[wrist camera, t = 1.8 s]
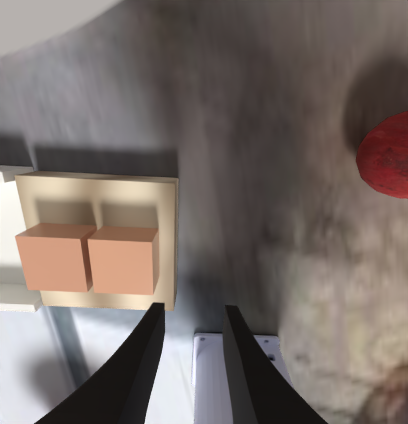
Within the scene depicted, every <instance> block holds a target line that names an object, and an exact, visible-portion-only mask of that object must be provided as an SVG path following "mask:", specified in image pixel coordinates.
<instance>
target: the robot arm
mask: <svg viewBox="0 0 408 424" xmlns="http://www.w3.org/2000/svg"><path fill="white" fill-rule="evenodd" d="M164 335H165V303H160V302H153V303H152V304H151V306H150V307H149V309H148V310H147V312H146V314H145V315H144V316H143V318H142V319H141V321H140V322H139V323H138V325H137V326H136V327H135V329H134V330H133V331H132V333H131V334H130V335H129V337H128V338H127V339H126V340H125V341H124V342H123V344H122V345H121V346H120V347H119V348H118V350H117V351H116V352H115V353H114V354H113V355H112V356H111V357H110V358H109V359H108V360H107V361H106V363H105V364H104V365H103V366H102V367H101V368H100V369H99V370H98V371H97V372H95V373H94V374H93V375H92V376H91V377H90V378H89V379H88V380H87V381H86V382H85V383H84V384H83V385H82V386H80V387H79V388H78V389H77V390H76V391H75V392H73V393H72V394H71V395H70V396H69V397H67V398H66V399H65V400H64V401H63V402H61V403H60V404H59V405H58V406H57V407H55V408H54V409H53V410H52V411H50V412H49V413H48V414H46V415H45V416H44V417H42V418H41V419H40V420H38V421H37V422H36V423H34V424H144V423H145V417H146V412H147V408H148V403H149V399H150V395H151V391H152V388H153V384H154V380H155V376H156V372H157V369H158V365H159V361H160V357H161V353H162V348H163V341H164ZM279 342H280V341H279V338H278V337H277V336H262V335H253V334H252V332H251V331H250V329H249V327H248V326H247V324H246V322H245V320H244V318H243V316H242V314H241V312H240V310H239V308H238V307H237V306H231V305H225V313H224V323H223V333H222V334H212V333H196V334H195V335H194V344H193V364H192V385H193V386H195V408H194V424H328V423H327V422H326V421H325V420H324V419H323V418H321V417H320V416H319V415H318V414H317V413H316V412H315V411H314V410H313V409H312V408H311V407H310V406H309V405H308V404H307V402H306V401H305V400H304V399H303V398H302V397H301V396H300V395H299V394H298V393H297V392H296V391H295V390H294V387H293V384H292V382H291V379H290V376H289V373H288V371H287V368H286V365H285V362H284V360H283V357H282V354H281V351H280V349H279Z"/></svg>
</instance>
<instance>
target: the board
mask: <svg viewBox="0 0 408 424" xmlns="http://www.w3.org/2000/svg"><path fill="white" fill-rule="evenodd" d="M14 177H15V181H16V186H17V190H18V195H19V199H20V203H21V208H22V212H23V217H24V221H25V226H26V230H27V229H29V228H31V227H33V226H35V225H37V224H39V223H54V224H75V225H96V226H97V231H98V230H99V229H100V228H101V227H102V226H117V227H137V228H158V229H159V267H160V276H159V279H158V283H157V286H156V289H155V292H154V295H134V294H110V293H94V287H93V286H92V287H91V289H90V290H89V291H88V293H86V292H63V291H40V293H41V298H42V302H43V306H66V307H90V308H115V309H139V310H148V309H149V307H150V306H151V304H152V303H153V302H160V303H165V311H174V306H175V300H176V294H177V242H178V178H168V177H149V176H129V175H110V174H91V173H71V172H52V171H35V172H29V173H24V174H19V175H14Z"/></svg>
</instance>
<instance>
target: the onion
mask: <svg viewBox="0 0 408 424" xmlns="http://www.w3.org/2000/svg"><path fill="white" fill-rule="evenodd" d="M356 163H357V166H358V170H359V173H360V176H361V178H362V179H363V180H364V181H365V182H366V183H367V184H368V185H369V186H370V187H372V188H373V189H374V190H376V191H378V192H381V193H383V194H386V195H389V196H393V197H397V198H408V111H405V112H402V113H399V114H397V115H394V116H391V117H388V118H386V119H385V120H384V121H383V122H381V123H380V124H379V125H378V126H376V127H375V128H374V129H373V130H371V131H370V132H369V133H368V134H367V135H366V137H365V138H364V140H363V141H362V142H361V144H360V145H359V148H358V152H357V157H356Z"/></svg>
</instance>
